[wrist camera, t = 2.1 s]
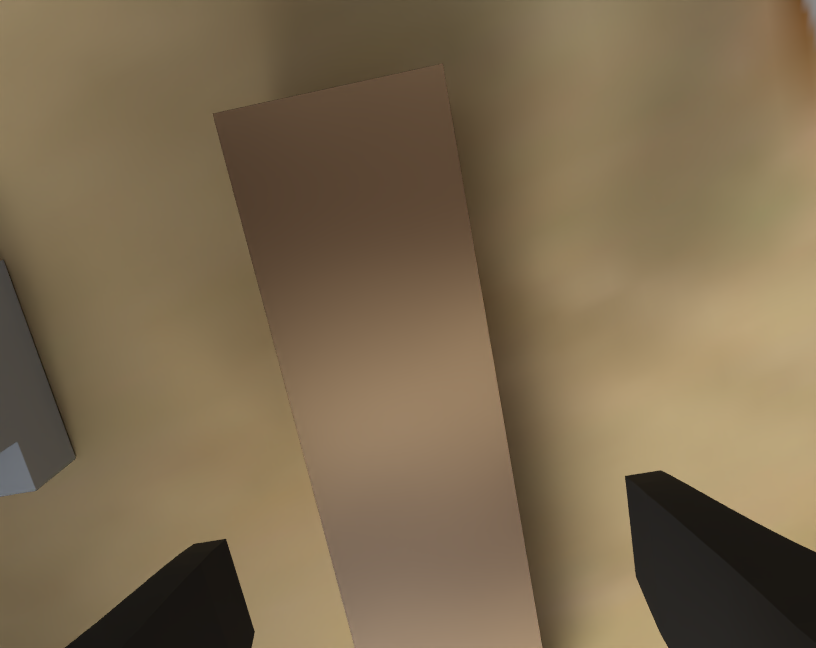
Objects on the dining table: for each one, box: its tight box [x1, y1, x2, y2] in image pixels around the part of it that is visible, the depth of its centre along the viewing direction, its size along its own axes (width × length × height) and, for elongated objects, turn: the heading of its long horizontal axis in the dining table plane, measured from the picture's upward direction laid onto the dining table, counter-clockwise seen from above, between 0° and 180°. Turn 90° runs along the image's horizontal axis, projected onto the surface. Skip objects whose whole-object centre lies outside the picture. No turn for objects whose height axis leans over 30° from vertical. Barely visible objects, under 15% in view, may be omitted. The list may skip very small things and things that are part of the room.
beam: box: [213, 63, 542, 648], centre depth 12 cm, size 16×4×4 cm, turn 11°
